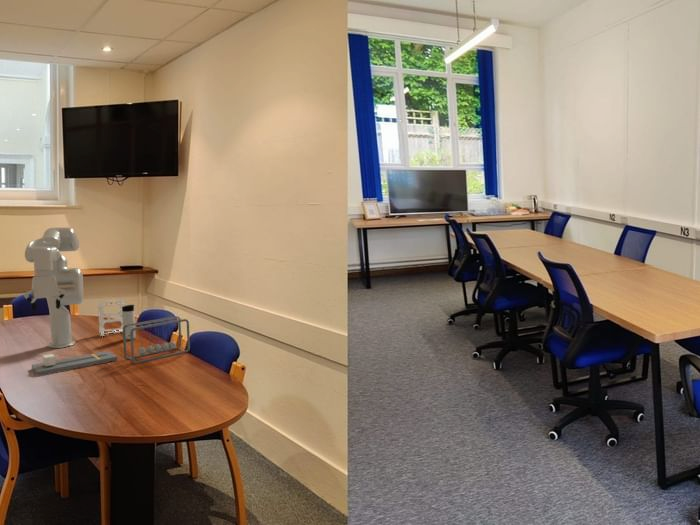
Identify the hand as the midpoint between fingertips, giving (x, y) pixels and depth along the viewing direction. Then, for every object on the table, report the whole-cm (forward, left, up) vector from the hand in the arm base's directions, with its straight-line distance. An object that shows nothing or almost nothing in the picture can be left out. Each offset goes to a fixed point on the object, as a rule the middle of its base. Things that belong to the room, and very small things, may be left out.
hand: (46, 309), depth 238 cm
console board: (+7, +9, -27) cm, 29 cm away
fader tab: (+7, -2, -25) cm, 26 cm away
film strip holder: (-44, +41, -27) cm, 66 cm away
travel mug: (-23, +44, -27) cm, 57 cm away
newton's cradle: (+19, +44, -27) cm, 56 cm away
